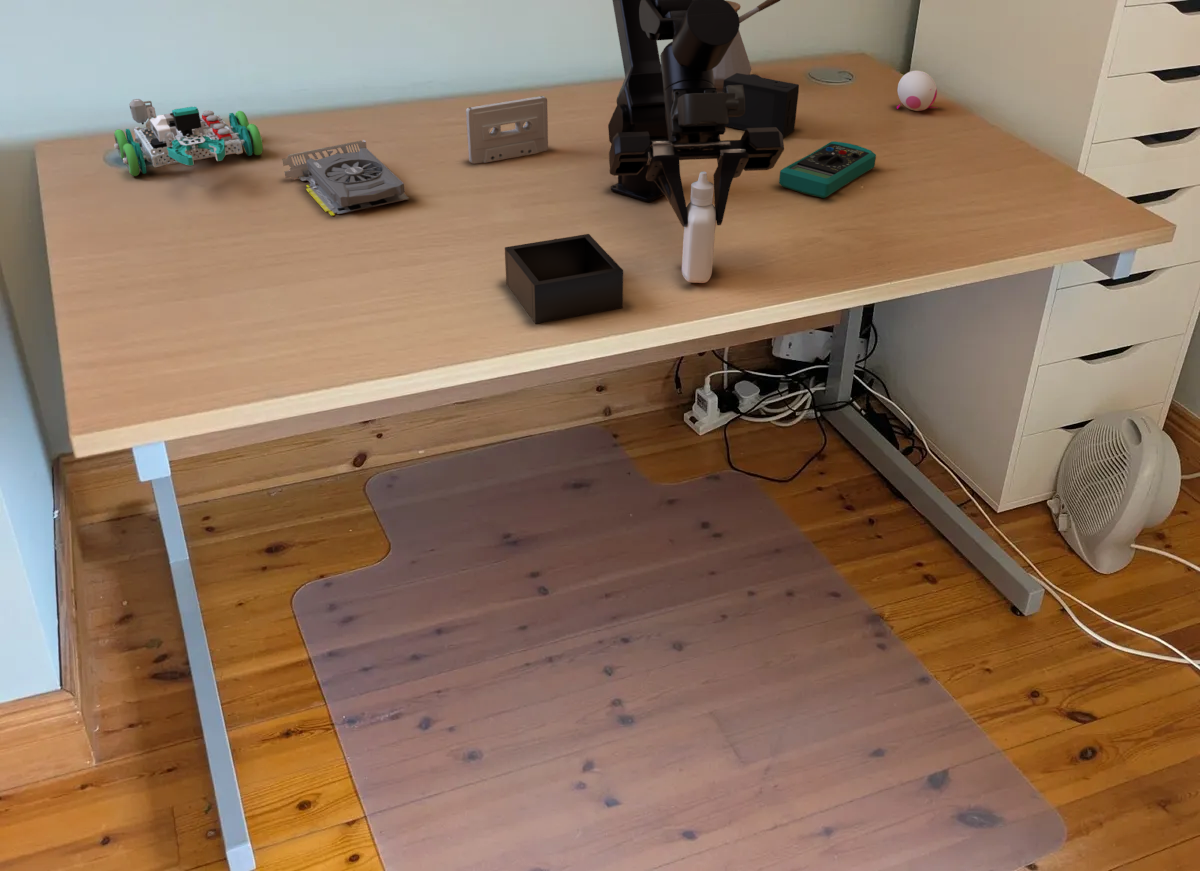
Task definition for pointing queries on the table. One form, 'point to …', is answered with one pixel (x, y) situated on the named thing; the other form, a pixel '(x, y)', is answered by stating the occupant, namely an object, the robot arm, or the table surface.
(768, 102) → the digital camera
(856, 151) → the digital multimeter
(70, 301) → the table surface
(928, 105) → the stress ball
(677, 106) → the robot arm
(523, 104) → the cassette
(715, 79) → the coffee pot
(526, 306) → the holder
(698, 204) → the eye dropper bottle
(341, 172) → the graphics card
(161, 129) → the robot kit
